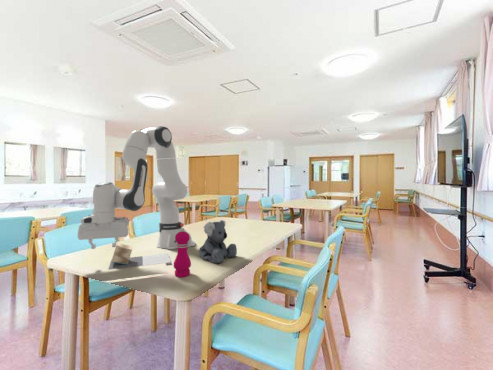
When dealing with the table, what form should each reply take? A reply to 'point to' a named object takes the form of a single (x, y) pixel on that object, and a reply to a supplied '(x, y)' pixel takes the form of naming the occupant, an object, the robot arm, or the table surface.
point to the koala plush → (216, 243)
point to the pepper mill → (182, 254)
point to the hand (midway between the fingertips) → (104, 247)
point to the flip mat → (142, 261)
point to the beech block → (122, 254)
